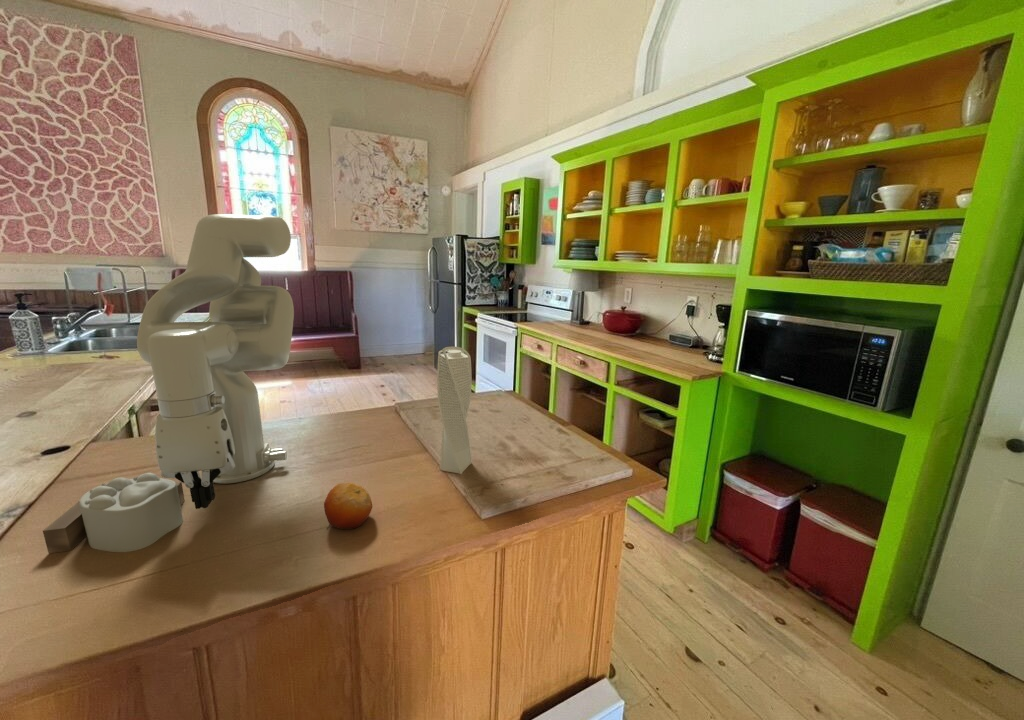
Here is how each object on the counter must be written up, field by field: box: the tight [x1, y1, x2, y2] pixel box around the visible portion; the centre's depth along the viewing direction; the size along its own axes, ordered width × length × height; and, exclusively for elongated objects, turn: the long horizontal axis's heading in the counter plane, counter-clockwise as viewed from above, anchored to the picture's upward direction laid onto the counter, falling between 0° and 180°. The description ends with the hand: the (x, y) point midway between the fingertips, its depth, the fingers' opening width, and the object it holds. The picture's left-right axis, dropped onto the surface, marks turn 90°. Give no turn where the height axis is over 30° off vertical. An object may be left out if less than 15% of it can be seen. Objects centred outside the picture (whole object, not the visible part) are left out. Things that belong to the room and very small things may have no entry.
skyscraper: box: [436, 346, 473, 475], centre depth 94 cm, size 8×8×28 cm
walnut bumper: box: [42, 481, 186, 554], centre depth 75 cm, size 14×12×4 cm
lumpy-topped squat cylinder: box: [78, 472, 184, 553], centre depth 73 cm, size 10×13×9 cm
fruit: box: [323, 482, 373, 530], centre depth 76 cm, size 8×8×8 cm
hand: (204, 504), depth 77 cm, fingers closed
